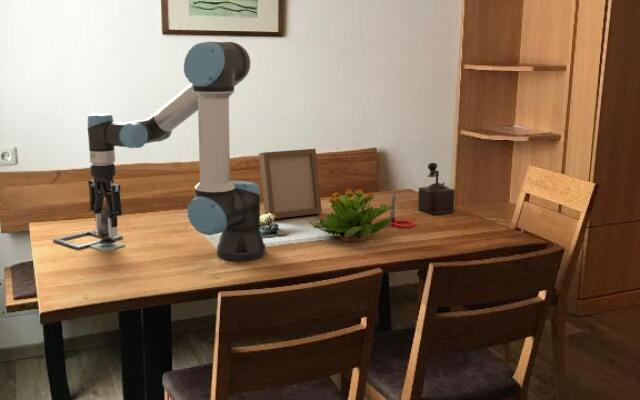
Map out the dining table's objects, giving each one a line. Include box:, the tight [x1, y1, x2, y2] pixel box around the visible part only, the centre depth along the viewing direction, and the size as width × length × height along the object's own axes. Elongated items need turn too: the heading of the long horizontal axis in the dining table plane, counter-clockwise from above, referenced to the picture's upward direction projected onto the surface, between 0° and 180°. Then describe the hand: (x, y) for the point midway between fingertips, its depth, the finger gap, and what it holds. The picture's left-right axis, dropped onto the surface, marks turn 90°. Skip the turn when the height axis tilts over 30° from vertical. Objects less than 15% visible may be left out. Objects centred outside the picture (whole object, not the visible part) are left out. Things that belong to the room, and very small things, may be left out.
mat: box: [89, 241, 126, 253], centre depth 225 cm, size 8×8×1 cm
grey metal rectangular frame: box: [52, 229, 124, 251], centre depth 232 cm, size 14×17×1 cm
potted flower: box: [309, 188, 393, 243], centre depth 236 cm, size 25×24×18 cm
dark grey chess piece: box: [97, 205, 117, 244], centre depth 223 cm, size 6×6×12 cm
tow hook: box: [387, 189, 416, 229], centre depth 254 cm, size 8×13×9 cm
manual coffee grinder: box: [417, 162, 456, 216], centre depth 276 cm, size 16×11×18 cm
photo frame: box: [258, 148, 323, 220], centre depth 266 cm, size 15×22×25 cm
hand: (107, 234), depth 224 cm, fingers closed on dark grey chess piece, 6 cm apart
